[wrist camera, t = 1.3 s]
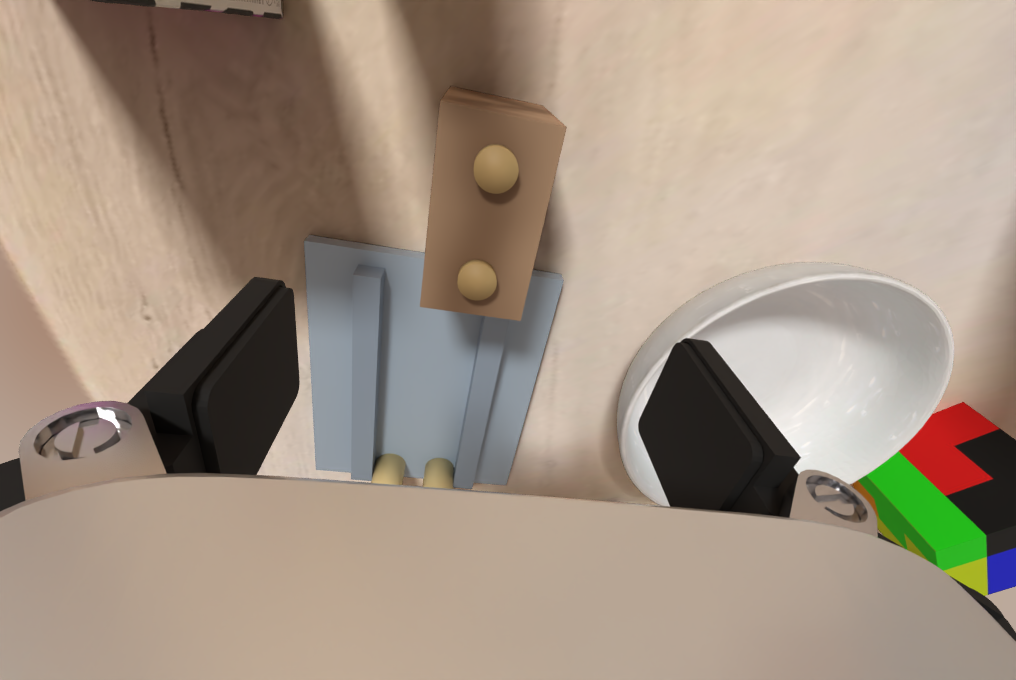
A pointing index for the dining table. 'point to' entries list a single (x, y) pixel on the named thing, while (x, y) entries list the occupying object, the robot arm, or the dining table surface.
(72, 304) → the dining table surface
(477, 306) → the panel block
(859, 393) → the serving bowl
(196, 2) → the candy bar box
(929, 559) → the puzzle toy
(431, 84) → the dining table surface
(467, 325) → the slot board
